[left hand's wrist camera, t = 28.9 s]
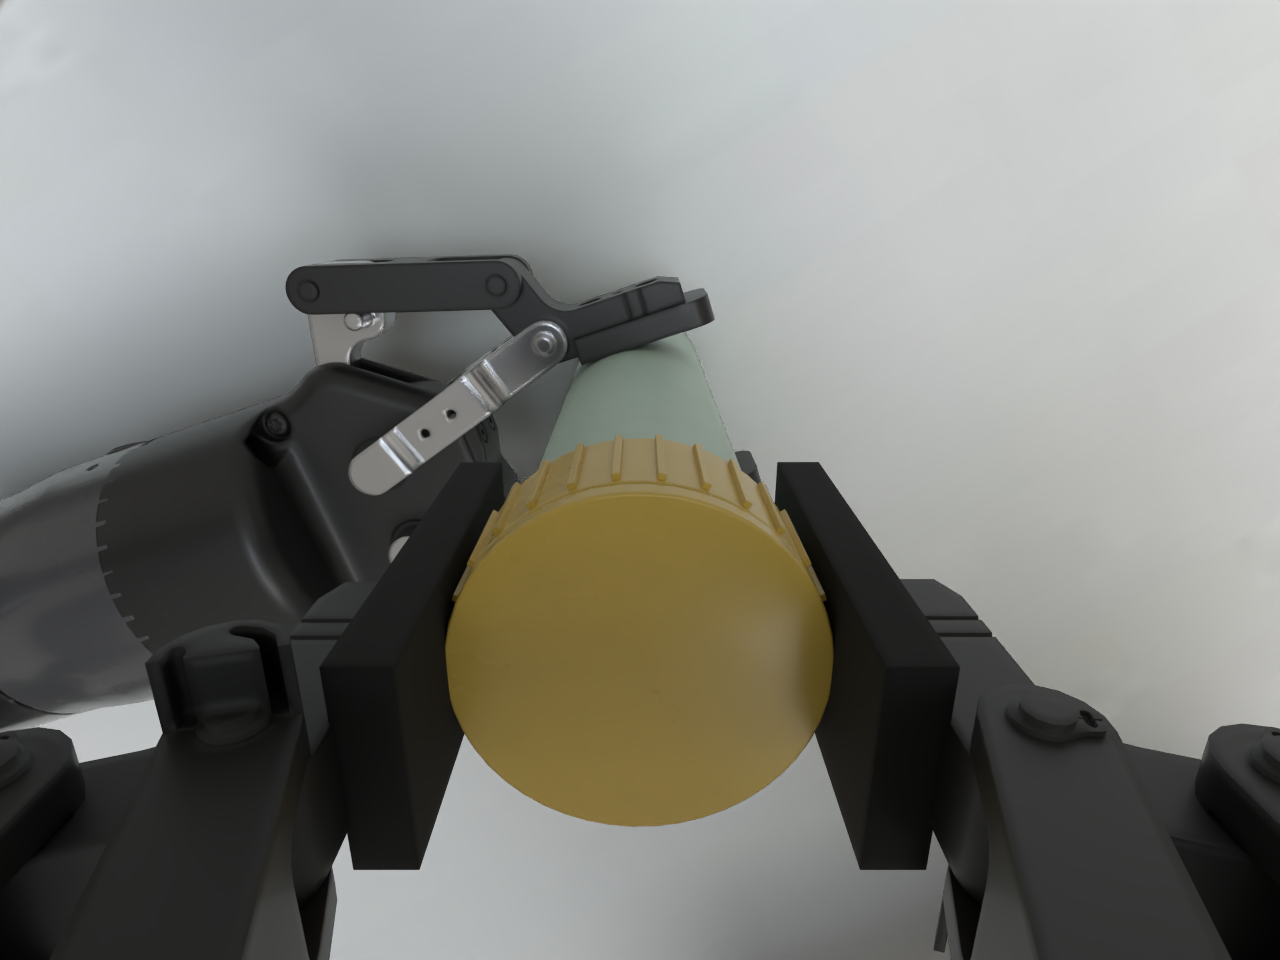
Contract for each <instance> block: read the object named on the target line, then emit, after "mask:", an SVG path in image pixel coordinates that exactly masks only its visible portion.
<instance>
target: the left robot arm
mask: <svg viewBox="0 0 1280 960" xmlns="http://www.w3.org/2000/svg"><path fill="white" fill-rule="evenodd" d="M504 503H505V500H504V485H503V470H502V462H461V463H460V464H459V466H458V467H457V469H456V470H455V472H454V473H453V474H452V476H451V477H450V479H449V480H448V482H447V483H446V485H445V486H444V487H443V489H442V490H441V492H440V493H439V495H438V496H437V498H436V499H435V500H434V502H433V503H432V505H431V506H430V508H429V509H428V511H427V512H426V513H425V515H424V516H423V518H422V519H421V521H420V522H419V524H418V525H417V526H416V528H415V529H414V531H413V532H412V534H411V535H410V537H409V538H408V539H407V541H406V542H405V544H404V545H403V547H402V548H401V550H400V551H399V552H398V554H397V555H396V557H395V558H394V560H393V561H392V563H391V564H390V565H389V567H388V568H387V570H386V571H385V573H384V574H383V576H382V577H381V578H380V580H379V581H378V582H345V583H343V584H342V585H340V586H338V587H337V588H335V589H333V590H332V591H330V592H328V593H327V594H325V595H324V596H322V597H320V598H319V599H318V600H317V601H316V602H315V603H314V604H313V606H312V607H311V608H310V609H309V611H308V612H307V613H306V614H305V615H304V617H303V618H302V622H301V623H298V624H297V625H296V627H295V628H294V629H293V630H292V631H291V633H290V634H289V632H288V631H287V630H285V629H284V628H283V627H282V626H280V625H279V624H276V623H272V622H267V621H262V620H237V621H230V622H225V623H220V624H215V625H210V626H206V627H203V628H201V629H198V630H195V631H193V632H190V633H187V634H184V635H182V636H180V637H178V638H176V639H175V640H173V641H171V642H169V643H168V644H166V645H164V646H163V647H161V648H159V649H158V650H157V651H156V652H155V653H154V654H153V655H152V656H151V657H150V658H149V659H148V660H147V661H146V662H145V666H146V670H147V674H148V678H149V682H150V686H151V689H152V693H153V697H154V701H155V705H156V709H157V712H158V716H159V720H160V724H161V728H162V731H163V734H162V736H161V738H160V740H159V742H158V744H157V746H156V747H153V748H150V749H146V750H142V751H137V752H132V753H127V754H122V755H118V756H113V757H108V758H103V759H98V760H93V761H88V762H83V763H79V762H78V759H77V755H76V752H75V749H74V746H73V743H72V739H70V738H69V737H68V736H67V735H65V734H64V733H63V732H61V731H60V730H54V729H47V728H40V727H37V728H29V729H21V730H12V731H5V732H1V733H0V960H329V958H330V950H331V942H332V935H333V927H334V920H335V912H336V904H337V895H336V887H335V881H334V875H333V870H332V864H333V862H334V860H335V858H336V856H337V853H338V851H339V849H340V847H341V845H342V843H343V841H344V838H345V836H346V834H348V840H349V846H350V852H351V858H352V864H353V870H419V869H420V866H421V863H422V860H423V857H424V854H425V851H426V848H427V845H428V842H429V839H430V836H431V833H432V830H433V827H434V824H435V821H436V818H437V815H438V812H439V809H440V806H441V803H442V800H443V797H444V794H445V791H446V788H447V785H448V782H449V779H450V776H451V773H452V770H453V767H454V764H455V761H456V758H457V755H458V752H459V748H460V745H461V742H462V739H463V736H464V732H463V730H462V728H461V726H460V724H459V721H458V719H457V717H456V715H455V713H454V710H453V707H452V704H451V700H450V693H449V684H448V675H447V664H446V653H445V639H446V633H447V627H448V622H449V619H450V616H451V613H452V610H453V607H454V604H455V602H454V601H452V597H453V594H454V592H455V590H456V588H457V586H458V584H459V581H460V579H461V577H462V575H463V573H464V571H465V569H466V567H467V562H468V560H469V558H470V556H471V554H472V552H473V550H474V548H475V546H476V544H477V542H478V540H479V538H480V536H481V533H482V531H483V529H484V527H485V525H486V523H487V521H488V519H489V517H490V515H491V513H492V511H493V510H495V511H497V512H499V510H500V509H501V508H502V506H503V505H504ZM775 505H776V506H777V508H778V509H779V511H782V510H784V509H785V510H786V512H787V513H788V515H789V517H790V520H791V522H792V524H793V526H794V528H795V530H796V532H797V534H798V536H799V538H800V540H801V543H802V545H803V547H804V549H805V551H806V553H807V555H808V557H809V559H810V561H811V565H812V567H813V569H814V571H815V574H816V576H817V578H818V580H819V582H820V584H821V586H822V588H823V590H824V592H825V595H826V598H827V600H826V601H823V604H824V606H825V609H826V611H827V614H828V618H829V622H830V626H831V630H832V634H833V644H834V658H833V669H832V679H831V688H830V695H829V700H828V703H827V706H826V708H825V711H824V714H823V716H822V719H821V721H820V723H819V725H818V727H817V729H816V731H815V735H816V738H817V741H818V744H819V747H820V750H821V753H822V756H823V759H824V762H825V765H826V768H827V771H828V774H829V777H830V780H831V783H832V786H833V789H834V792H835V795H836V798H837V801H838V804H839V807H840V810H841V813H842V816H843V819H844V822H845V825H846V828H847V832H848V835H849V838H850V841H851V844H852V847H853V850H854V853H855V856H856V859H857V862H858V865H859V868H860V870H926V867H927V861H928V855H929V849H930V843H931V837H932V831H934V833H935V836H936V838H937V840H938V842H939V844H940V846H941V848H942V850H943V853H944V855H945V857H946V859H947V861H948V863H949V864H948V870H947V875H946V881H945V886H944V892H943V897H942V903H941V908H940V914H939V919H938V925H937V930H936V937H935V944H934V950H935V951H940V952H945V946H946V941H947V936H948V941H949V948H950V956H951V960H1280V729H1278V728H1274V727H1265V726H1257V725H1249V724H1236V725H1229V726H1221V727H1219V728H1218V729H1217V730H1216V731H1214V732H1213V733H1212V734H1210V735H1209V737H1208V741H1207V744H1206V747H1205V750H1204V753H1203V757H1202V760H1200V759H1195V758H1190V757H1185V756H1180V755H1175V754H1170V753H1165V752H1160V751H1155V750H1150V749H1145V748H1140V747H1136V746H1132V745H1128V744H1124V743H1123V742H1122V740H1121V738H1120V736H1119V734H1118V733H1117V731H1116V730H1115V729H1114V727H1113V726H1112V725H1111V724H1110V723H1109V721H1108V720H1107V719H1106V718H1105V716H1103V715H1102V714H1101V713H1099V712H1098V711H1096V710H1095V709H1093V708H1092V707H1090V706H1089V705H1088V704H1086V703H1085V702H1083V701H1081V700H1078V699H1076V698H1074V697H1071V696H1069V695H1067V694H1064V693H1062V692H1060V691H1057V690H1053V689H1048V688H1044V687H1040V686H1036V685H1034V683H1033V682H1032V681H1031V680H1030V679H1029V677H1028V676H1027V675H1026V674H1025V673H1024V671H1023V670H1022V669H1021V668H1020V666H1019V665H1018V664H1017V663H1016V662H1015V660H1014V659H1013V658H1012V657H1011V655H1010V654H1009V653H1008V652H1007V651H1006V649H1005V648H1004V647H1003V646H1002V645H1001V643H1000V642H999V641H998V640H997V638H996V637H992V632H991V631H990V630H989V629H988V627H987V626H986V625H985V624H984V623H983V621H982V620H978V615H977V614H976V613H975V612H974V610H973V609H972V608H971V607H970V606H969V604H968V603H967V602H966V601H965V599H964V598H963V597H962V596H961V595H959V594H957V593H956V592H954V591H952V590H951V589H949V588H947V587H946V586H944V585H943V584H941V583H939V582H938V581H936V580H934V579H899V578H898V576H897V575H896V573H895V572H894V570H893V569H892V568H891V566H890V565H889V563H888V562H887V560H886V559H885V557H884V556H883V555H882V553H881V552H880V550H879V549H878V547H877V546H876V544H875V543H874V542H873V540H872V539H871V537H870V536H869V534H868V533H867V531H866V530H865V529H864V527H863V526H862V524H861V523H860V521H859V520H858V518H857V517H856V516H855V514H854V513H853V511H852V510H851V508H850V507H849V505H848V504H847V503H846V501H845V500H844V498H843V497H842V495H841V494H840V492H839V491H838V490H837V488H836V487H835V485H834V484H833V482H832V481H831V479H830V478H829V477H828V475H827V474H826V472H825V471H824V469H823V468H822V466H821V465H820V464H819V462H778V463H777V478H776V493H775Z"/></svg>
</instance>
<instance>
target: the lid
mask: <svg viewBox="0 0 1280 960" xmlns="http://www.w3.org/2000/svg"><path fill="white" fill-rule="evenodd" d="M826 600H827V598H826V595H825V592H824V590H823V588H822V586H821V584H820V582H819V580H818V578H817V576H816V574H815V571H814V569H813V567H812V565H811V561H810V559H809V557H808V555H807V553H806V551H805V549H804V547H803V545H802V543H801V540H800V538H799V536H798V534H797V532H796V530H795V528H794V526H793V524H792V522H791V520H790V517H789V515H788V513H787V512H786V510H785V509H784V510H782V511H779V509H778V508H777V506H776V505H775V503H774V502H773V500H772V498H771V496H770V494H769V491H768V489H767V487H766V485H765V484H764V483H763V482H762V481H761V482H760V483H759V484H757V483H756V482H755V481H753V480H752V479H751V478H750V477H749V476H748V475H747V474H745V473H744V472H742V471H741V470H740V469H739V467H738V464H737V462H736V461H735V460H733V459H730V460H729V462H727V461H726V460H724V459H722V458H720V457H718V456H716V455H714V454H712V453H710V452H707V451H704V450H703V449H702V445H701V444H698V443H694V446H691V445H687V444H682V443H678V442H673V441H669V440H663V436H662V435H655V439H650V438H632V439H623V435H616V436H615V440H612V441H605V442H600V443H596V444H593V445H589V446H586V447H585V446H584V444H583V443H580V444H577V445H576V449H575V450H574V451H572V452H570V453H567V454H565V455H563V456H560V457H558V458H557V459H555V460H553V461H552V462H549V460H548V459H546V460H544V461H542V462H541V465H540V467H539V470H537V471H536V472H535V473H534V474H532V475H531V476H530V477H529V478H527V479H526V480H525V481H524V482H523V483H522V484H521V485H520V484H519V483H518V482H516V483H515V484H514V485H513V486H512V488H511V490H510V492H509V495H508V497H507V499H506V501H505V503H504V505H503V506H502V508H501V509H500V510H499V512H497V511H495V510H493V511H492V513H491V515H490V517H489V519H488V521H487V523H486V525H485V527H484V529H483V531H482V533H481V536H480V538H479V540H478V542H477V544H476V546H475V548H474V550H473V552H472V554H471V556H470V558H469V560H468V562H467V567H466V569H465V571H464V573H463V575H462V577H461V579H460V581H459V584H458V586H457V588H456V590H455V592H454V594H453V597H452V601H454V602H455V604H454V607H453V610H452V613H451V616H450V619H449V622H448V627H447V633H446V639H445V653H446V664H447V675H448V684H449V693H450V700H451V704H452V707H453V710H454V713H455V715H456V717H457V719H458V721H459V724H460V726H461V728H462V730H463V732H464V733H465V735H466V737H467V738H468V740H469V741H470V743H471V744H472V746H473V747H474V749H475V750H476V751H477V753H478V754H479V755H480V756H481V757H482V758H483V760H484V761H485V762H486V763H487V764H488V766H489V767H491V768H492V769H493V770H494V771H495V772H496V773H497V774H498V775H499V776H500V777H501V778H503V779H504V780H505V781H506V782H507V783H509V784H510V785H512V786H513V787H514V788H516V789H517V790H519V791H520V792H521V793H523V794H524V795H526V796H528V797H530V798H532V799H533V800H535V801H537V802H539V803H541V804H542V805H544V806H547V807H549V808H552V809H554V810H556V811H559V812H561V813H564V814H567V815H570V816H573V817H577V818H580V819H584V820H587V821H592V822H598V823H603V824H609V825H620V826H632V827H635V826H660V825H668V824H676V823H682V822H686V821H690V820H695V819H699V818H703V817H706V816H709V815H711V814H714V813H717V812H720V811H723V810H725V809H727V808H729V807H732V806H734V805H736V804H738V803H740V802H742V801H744V800H746V799H747V798H749V797H751V796H752V795H754V794H755V793H757V792H759V791H760V790H762V789H763V788H765V787H766V786H767V785H768V784H770V783H771V782H772V781H773V780H775V779H776V778H777V777H778V776H780V775H781V774H782V773H783V772H784V771H785V770H786V769H787V768H788V767H789V766H790V765H791V764H792V763H793V762H794V761H795V760H796V759H797V757H798V756H799V755H800V753H801V752H802V751H803V749H804V748H805V747H806V745H807V744H808V743H809V741H810V740H811V738H812V736H813V734H814V732H815V731H816V729H817V727H818V725H819V723H820V721H821V719H822V716H823V714H824V711H825V708H826V706H827V703H828V700H829V695H830V688H831V679H832V669H833V658H834V644H833V634H832V630H831V626H830V622H829V618H828V614H827V611H826V609H825V606H824V604H823V601H826Z"/></svg>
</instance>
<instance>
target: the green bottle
mask: <svg viewBox="0 0 1280 960" xmlns="http://www.w3.org/2000/svg"><path fill="white" fill-rule="evenodd" d="M616 435H623V439H632V438H650V439H655V435H662V436H663V440H669V441H673V442H678V443H682V444H687V445H691V446H694V443H698V444H701V445H702V449H703V450H704V451H707V452H710V453H712V454H714V455H716V456H718V457H720V458H722V459H724V460H726V461H727V462H729V460H730V459H733V460H735V461H736V462H737V464H738V467H739V469H740V470H741V468H740V466H739V463H738V461H737V458H736V455H735V453H734V450H733V448H732V445H731V442H730V440H729V437H728V434H727V432H726V429H725V427H724V424H723V421H722V419H721V416H720V414H719V411H718V408H717V406H716V403H715V400H714V398H713V395H712V393H711V390H710V387H709V385H708V382H707V379H706V377H705V374H704V372H703V369H702V366H701V364H700V361H699V359H698V356H697V353H696V351H695V348H694V346H693V344H692V343H691V341H690V339H689V338H688V337H687V335H686V334H685V333H684V332H682V333H679V334H676V335H673V336H670V337H667V338H664V339H661V340H658V341H655V342H652V343H648V344H645V345H642V346H639V347H636V348H633V349H630V350H627V351H624V352H621V353H617V354H613V355H611V356H608V357H606V358H603V359H600V360H597V361H594V362H591V363H588V364H585V365H581V363H580V361H579V364H578V366H577V369H576V372H575V374H574V377H573V379H572V382H571V385H570V387H569V390H568V392H567V395H566V398H565V400H564V403H563V405H562V408H561V411H560V413H559V416H558V418H557V421H556V424H555V426H554V429H553V432H552V434H551V437H550V439H549V442H548V445H547V447H546V450H545V452H544V455H543V458H542V460H541V462H542V461H544V460H546V459H548V460H549V462H552V461H553V460H555V459H557V458H558V457H560V456H563V455H565V454H567V453H570V452H572V451H574V450H575V449H576V445H577V444H580V443H583V444H584V446H585V447H586V446H589V445H593V444H596V443H600V442H605V441H612V440H615V436H616ZM540 465H541V463H540ZM540 465H539V467H540ZM538 470H539V468H538Z"/></svg>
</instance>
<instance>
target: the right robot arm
mask: <svg viewBox="0 0 1280 960" xmlns="http://www.w3.org/2000/svg"><path fill="white" fill-rule="evenodd" d="M286 293H287V296H288V298H289V300H290V302H291V303H292V305H293V306H294V307H295V308H296V309H298V310H299V311H301V312H303V313H305V314H308V319H309V325H310V330H311V336H312V342H313V347H314V353H315V359H316V364H317V367H315V368H314V369H312V370H311V371H309V372H308V373H307V374H306V375H305V376H304V377H303V379H302V380H301V381H300V383H299V384H298V385H297V387H296V388H295V389H294V390H293V391H291V392H290V393H288V394H286V395H283V396H280V397H277V398H274V399H271V400H268V401H266V402H263V403H260V404H257V405H254V406H251V407H248V408H245V409H242V410H239V411H236V412H233V413H230V414H227V415H224V416H221V417H218V418H215V419H212V420H209V421H206V422H203V423H201V424H198V425H195V426H192V427H189V428H186V429H183V430H180V431H177V432H174V433H171V434H168V435H165V436H162V437H159V438H156V439H153V440H150V441H144V442H137V443H132V444H128V445H124V446H121V447H118V448H115V449H112V450H111V452H109V453H107V454H106V455H105V456H103V457H100V458H97V459H94V460H91V461H88V462H85V463H82V464H79V465H76V466H74V467H71V468H69V469H66V470H63V471H61V472H59V473H57V474H55V475H53V476H51V477H49V478H47V479H45V480H43V481H41V482H39V483H37V484H35V485H33V486H31V487H29V488H28V489H26V490H24V491H22V492H20V493H18V494H15V495H13V496H10V497H8V498H5V499H2V500H0V733H1V732H5V731H12V730H21V729H29V728H32V727H35V726H39V725H42V724H45V723H49V722H52V721H55V720H59V719H62V718H66V717H69V716H72V715H76V714H79V713H82V712H86V711H90V710H94V709H98V708H103V707H111V706H119V705H126V704H132V703H138V702H144V701H150V700H154V697H153V693H152V689H151V686H150V682H149V678H148V674H147V670H146V666H145V662H146V661H147V660H148V659H149V658H150V657H151V656H152V655H153V654H154V653H155V652H156V651H157V650H158V649H159V648H161V647H163V646H164V645H166V644H168V643H169V642H171V641H173V640H175V639H176V638H178V637H180V636H182V635H184V634H187V633H190V632H193V631H195V630H198V629H201V628H203V627H206V626H210V625H215V624H220V623H225V622H230V621H237V620H262V621H267V622H272V623H276V624H279V625H280V626H282V627H283V628H284V629H285V630H287V631H288V632H289V634H290V633H291V631H292V630H293V629H294V628H295V627H296V625H297V624H298V623H301V622H302V618H303V617H304V615H305V614H306V613H307V612H308V611H309V609H310V608H311V607H312V606H313V604H314V603H315V602H316V601H317V600H318V599H319V598H320V597H322V596H324V595H325V594H327V593H328V592H330V591H332V590H333V589H335V588H337V587H338V586H340V585H342V584H343V583H345V582H378V581H379V580H380V578H381V577H382V576H383V574H384V573H385V571H386V570H387V568H388V567H389V565H390V564H391V563H392V561H393V560H394V558H395V557H396V555H397V554H398V552H399V551H400V550H401V548H402V547H403V545H404V544H405V542H406V541H407V539H408V538H409V537H410V535H411V534H412V532H413V531H414V529H415V528H416V526H417V525H418V524H419V522H420V521H421V519H422V518H423V516H424V515H425V513H426V512H427V511H428V509H429V508H430V506H431V505H432V503H433V502H434V500H435V499H436V498H437V496H438V495H439V493H440V492H441V490H442V489H443V487H444V486H445V485H446V483H447V482H448V480H449V479H450V477H451V476H452V474H453V473H454V472H455V470H456V469H457V467H458V466H459V464H460V463H461V462H502V470H503V485H504V500H505V501H506V499H507V497H508V495H509V492H510V490H511V488H512V486H513V485H514V484H515V483H516V482H518V483H519V484H520V482H519V480H518V477H517V475H516V473H515V472H514V471H513V469H512V468H511V467H510V465H509V464H508V463H507V461H506V460H505V459H504V457H503V456H502V455H501V452H500V444H499V436H498V428H497V425H496V423H495V421H494V418H493V416H492V413H493V412H495V411H496V410H497V409H498V408H500V407H501V406H502V405H503V404H504V403H505V402H506V401H507V400H509V399H510V398H511V397H512V396H514V395H515V394H516V393H518V392H519V391H521V390H522V389H523V388H525V387H526V386H528V385H529V384H530V383H532V382H533V381H534V380H536V379H537V378H539V377H540V376H541V375H543V374H544V373H545V372H547V371H548V370H550V369H551V368H552V367H554V366H555V365H556V364H558V363H561V362H564V361H567V360H570V359H573V358H576V357H579V360H580V363H581V365H585V364H588V363H591V362H594V361H597V360H600V359H603V358H606V357H608V356H611V355H613V354H617V353H621V352H624V351H627V350H630V349H633V348H636V347H639V346H642V345H645V344H648V343H652V342H655V341H658V340H661V339H664V338H667V337H670V336H673V335H676V334H679V333H682V332H685V331H688V330H691V329H694V328H697V327H700V326H703V325H705V324H708V323H710V322H712V321H713V320H714V315H713V312H712V308H711V305H710V301H709V298H708V294H707V293H706V291H705V290H704V289H703V288H701V289H696V290H692V291H688V292H685V293H683V291H682V288H681V285H680V282H679V280H678V278H675V277H660V276H658V277H655V278H652V279H649V280H646V281H643V282H640V283H637V284H634V285H631V286H628V287H625V288H622V289H619V290H616V291H613V292H610V293H607V294H604V295H601V296H598V297H595V298H592V299H589V300H586V301H583V302H581V303H577V304H563V303H560V302H557V301H556V300H554V299H553V298H551V297H550V296H549V295H548V294H547V293H546V291H545V290H544V289H543V288H542V286H541V285H540V284H539V283H538V281H537V280H536V279H535V278H534V277H533V274H532V270H531V268H530V266H529V264H528V263H527V262H526V261H525V260H524V259H523V258H521V257H519V256H516V255H481V256H448V257H415V258H381V259H348V260H335V261H330V262H324V263H318V264H313V265H308V266H303V267H299V268H297V269H295V270H294V271H292V272H291V273H290V275H289V276H288V278H287V281H286ZM460 310H492V311H493V312H494V314H495V315H496V316H497V317H498V318H499V320H500V321H501V322H502V323H503V324H504V326H505V327H506V328H507V329H508V330H509V332H510V333H511V334H512V335H511V336H510V337H508V338H507V339H506V340H504V341H503V342H502V343H500V344H499V345H498V346H496V347H495V348H493V349H491V350H490V351H489V352H487V353H486V354H485V355H483V356H482V357H481V358H479V359H478V360H477V361H475V362H474V363H473V364H471V365H470V366H469V367H467V368H466V369H465V370H463V371H462V372H460V373H459V374H458V375H456V376H455V377H454V378H452V379H451V380H450V381H448V382H447V383H442V382H439V381H436V380H433V379H429V378H426V377H423V376H420V375H416V374H413V373H410V372H407V371H403V370H400V369H397V368H394V367H390V366H387V365H384V364H380V363H377V362H374V361H371V360H367V359H364V358H361V349H362V346H363V344H364V342H365V341H366V340H370V339H373V338H376V337H378V336H380V335H382V334H384V333H385V332H387V331H389V330H390V329H391V327H392V326H393V324H394V322H395V317H396V314H395V312H426V311H460ZM734 453H735V455H736V458H737V461H738V463H739V466H740V468H741V471H742V472H744V473H745V474H747V475H748V476H749V477H750V478H751V479H752V480H753V481H755V482H756V483H757V484H759V483H760V482H761V480H760V476H759V473H758V469H757V466H756V464H755V461H754V459H753V457H752V455H751V453H750V452H749V451H738V452H734Z"/></svg>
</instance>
